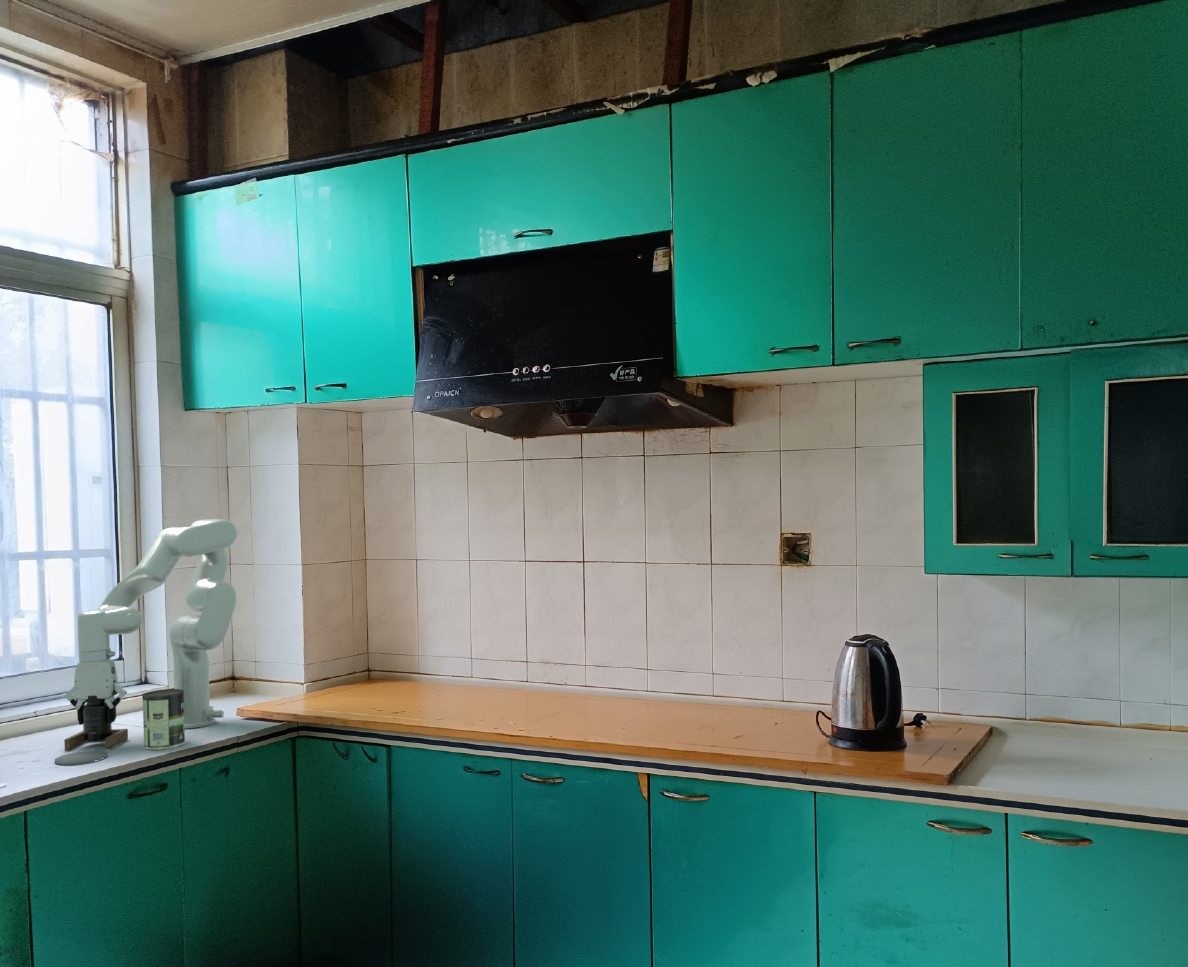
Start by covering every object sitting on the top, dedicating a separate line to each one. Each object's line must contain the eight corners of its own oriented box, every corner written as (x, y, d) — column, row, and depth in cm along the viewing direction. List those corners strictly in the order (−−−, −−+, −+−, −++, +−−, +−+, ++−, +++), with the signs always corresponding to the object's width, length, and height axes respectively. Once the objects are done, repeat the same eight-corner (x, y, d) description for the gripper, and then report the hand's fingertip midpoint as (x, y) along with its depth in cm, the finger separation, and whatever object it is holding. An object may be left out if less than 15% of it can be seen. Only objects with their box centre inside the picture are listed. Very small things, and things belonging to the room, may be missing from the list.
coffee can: (181, 738, 273) (180, 687, 273) (188, 746, 264) (187, 692, 264) (140, 744, 267) (139, 692, 268) (146, 752, 259) (145, 697, 259)
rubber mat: (116, 752, 260) (116, 750, 260) (93, 764, 248) (93, 762, 248) (69, 753, 259) (69, 751, 259) (45, 766, 247) (45, 763, 247)
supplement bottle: (90, 736, 271) (88, 691, 271) (116, 734, 272) (114, 690, 272) (79, 742, 264) (77, 697, 264) (105, 741, 265) (104, 695, 265)
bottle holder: (127, 739, 273) (127, 728, 273) (109, 749, 263) (109, 738, 263) (84, 741, 273) (84, 730, 273) (64, 751, 263) (64, 739, 263)
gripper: (133, 652, 272) (135, 718, 272) (69, 655, 271) (71, 721, 271) (121, 657, 264) (123, 725, 264) (54, 660, 264) (57, 727, 264)
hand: (97, 722), depth 268 cm, fingers closed on supplement bottle, 6 cm apart
